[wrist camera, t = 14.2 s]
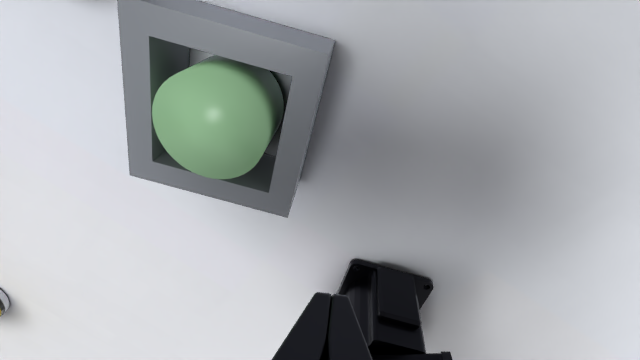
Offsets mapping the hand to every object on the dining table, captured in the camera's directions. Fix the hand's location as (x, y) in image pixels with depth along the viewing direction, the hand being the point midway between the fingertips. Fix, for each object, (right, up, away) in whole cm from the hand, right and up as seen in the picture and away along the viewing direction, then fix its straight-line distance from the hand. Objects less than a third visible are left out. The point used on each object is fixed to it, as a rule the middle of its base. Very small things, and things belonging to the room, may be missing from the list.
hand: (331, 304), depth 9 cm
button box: (-5, +8, +11) cm, 14 cm away
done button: (-5, +8, +10) cm, 14 cm away
